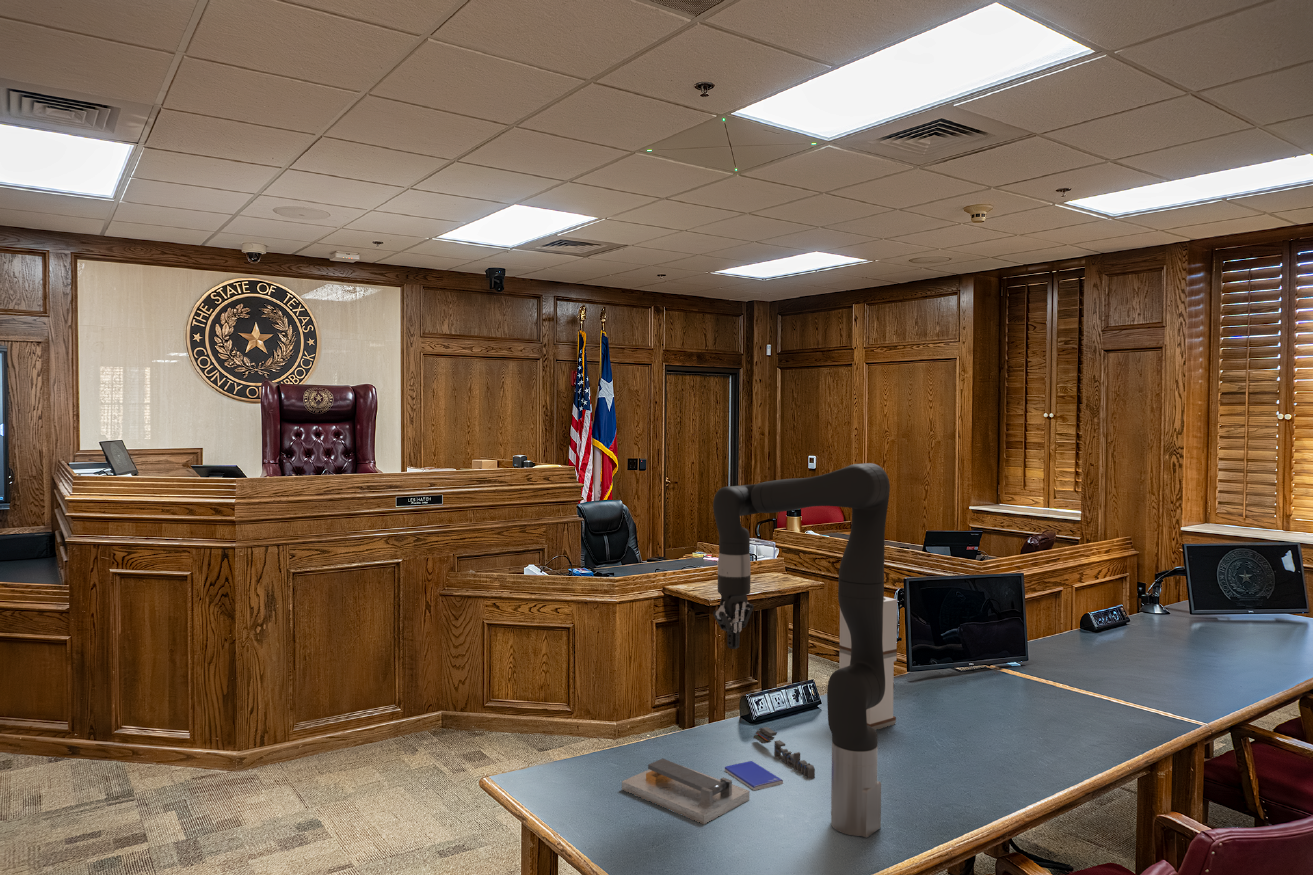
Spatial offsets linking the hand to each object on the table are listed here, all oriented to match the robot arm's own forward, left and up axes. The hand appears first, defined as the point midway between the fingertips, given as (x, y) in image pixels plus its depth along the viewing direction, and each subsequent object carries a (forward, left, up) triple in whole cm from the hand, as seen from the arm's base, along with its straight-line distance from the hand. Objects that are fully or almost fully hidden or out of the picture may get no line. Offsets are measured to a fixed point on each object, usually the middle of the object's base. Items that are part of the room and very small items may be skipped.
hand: (733, 647), depth 191 cm
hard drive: (0, -8, -33) cm, 34 cm away
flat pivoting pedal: (+5, +11, -29) cm, 31 cm away
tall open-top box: (-2, -60, -32) cm, 68 cm away
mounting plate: (+5, +11, -32) cm, 34 cm away
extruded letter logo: (+1, -21, -32) cm, 39 cm away
